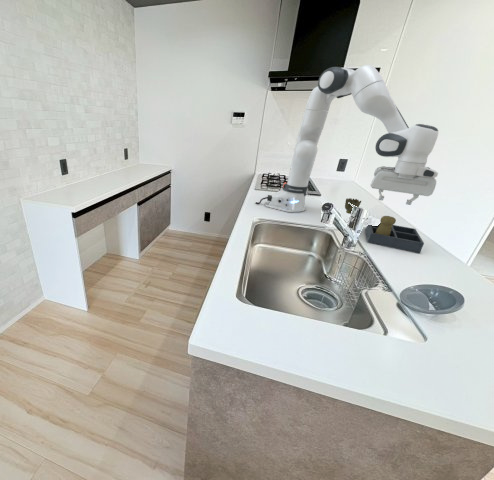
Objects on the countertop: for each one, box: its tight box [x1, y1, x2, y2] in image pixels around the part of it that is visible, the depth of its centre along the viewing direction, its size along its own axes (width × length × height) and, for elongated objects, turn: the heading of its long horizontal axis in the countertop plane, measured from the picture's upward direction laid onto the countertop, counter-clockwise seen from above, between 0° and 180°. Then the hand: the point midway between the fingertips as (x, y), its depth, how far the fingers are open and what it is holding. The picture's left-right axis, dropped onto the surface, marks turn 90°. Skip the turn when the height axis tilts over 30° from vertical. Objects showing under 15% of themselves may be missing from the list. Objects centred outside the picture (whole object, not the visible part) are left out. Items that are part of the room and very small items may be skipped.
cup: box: [344, 197, 362, 215], centre depth 148 cm, size 8×7×8 cm
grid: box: [365, 224, 425, 254], centre depth 117 cm, size 18×18×5 cm
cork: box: [375, 215, 396, 236], centre depth 114 cm, size 6×6×11 cm
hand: (394, 202), depth 109 cm, fingers open, 8 cm apart
